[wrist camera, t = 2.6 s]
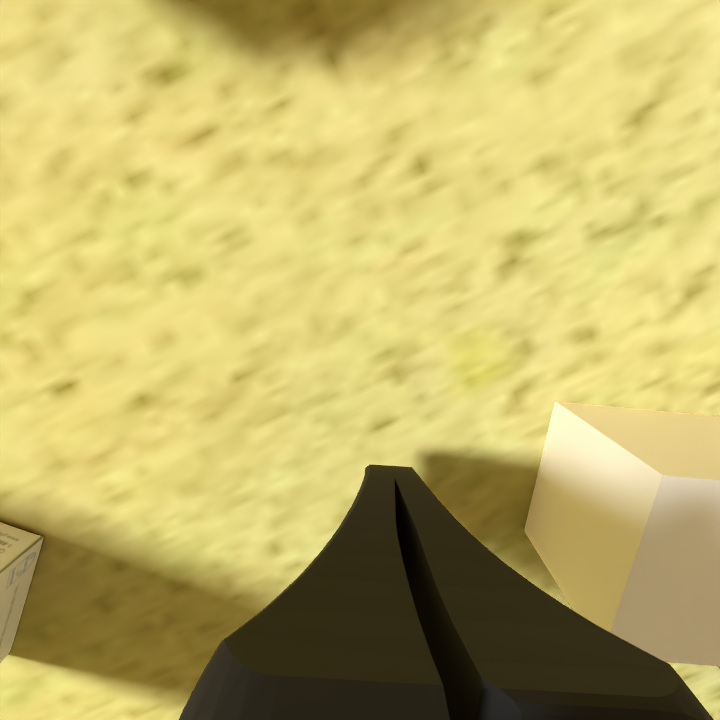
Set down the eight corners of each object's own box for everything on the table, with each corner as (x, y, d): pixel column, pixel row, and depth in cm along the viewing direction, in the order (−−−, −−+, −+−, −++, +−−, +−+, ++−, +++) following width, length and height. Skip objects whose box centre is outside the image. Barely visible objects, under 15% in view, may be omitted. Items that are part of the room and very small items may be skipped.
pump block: (710, 543, 13) (957, 740, 8) (522, 528, 13) (638, 715, 8) (760, 418, 12) (1096, 545, 7) (552, 399, 12) (717, 512, 6)
